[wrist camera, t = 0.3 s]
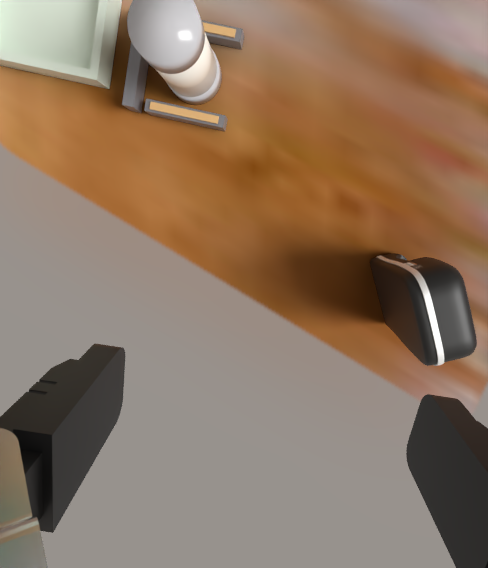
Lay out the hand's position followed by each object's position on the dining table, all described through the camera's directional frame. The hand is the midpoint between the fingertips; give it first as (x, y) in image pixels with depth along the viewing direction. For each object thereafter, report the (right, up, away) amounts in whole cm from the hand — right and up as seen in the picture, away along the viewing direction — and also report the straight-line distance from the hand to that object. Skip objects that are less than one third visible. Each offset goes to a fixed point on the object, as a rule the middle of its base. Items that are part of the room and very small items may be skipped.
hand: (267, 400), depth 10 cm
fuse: (-5, +21, +24) cm, 32 cm away
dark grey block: (+14, +3, +26) cm, 29 cm away
